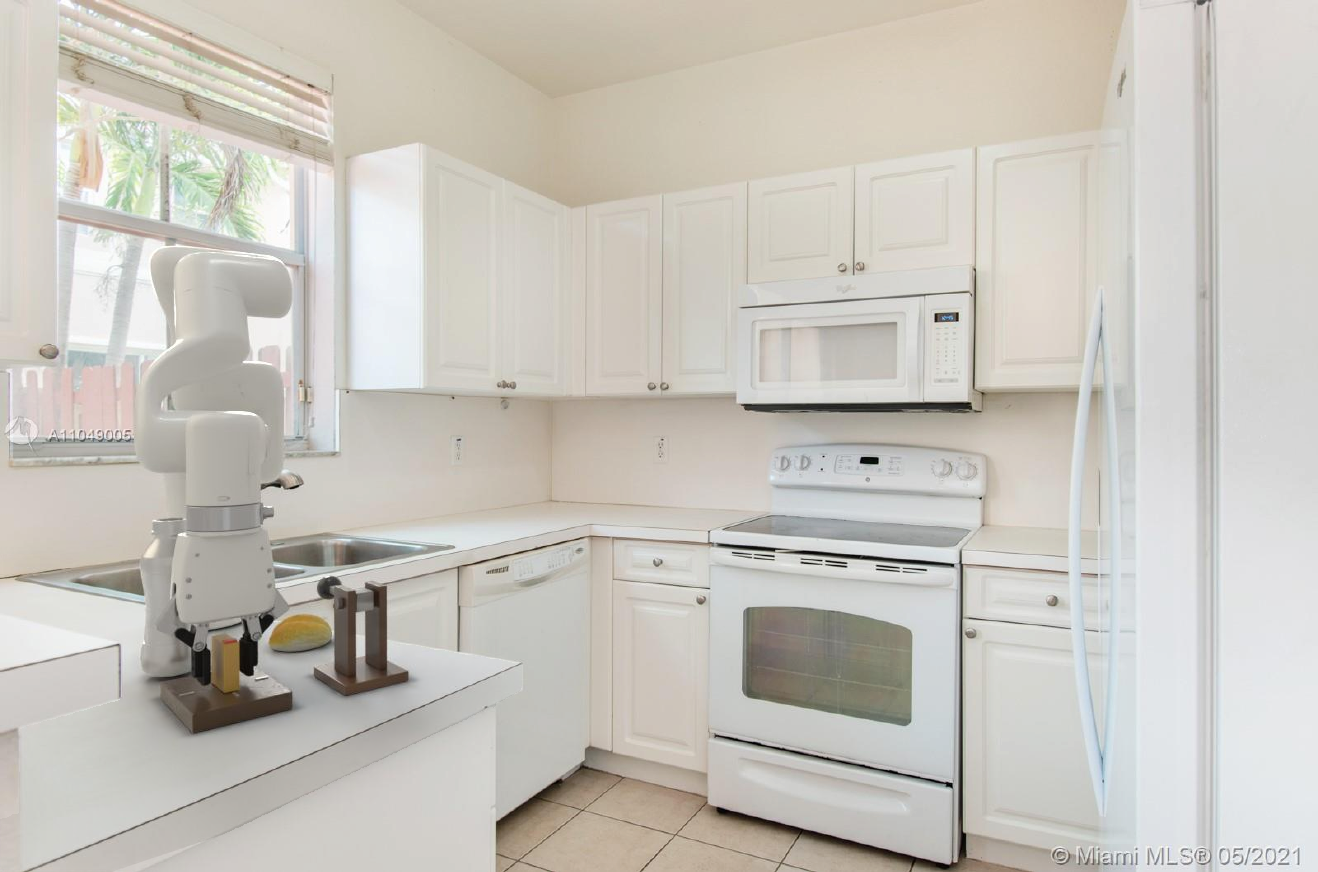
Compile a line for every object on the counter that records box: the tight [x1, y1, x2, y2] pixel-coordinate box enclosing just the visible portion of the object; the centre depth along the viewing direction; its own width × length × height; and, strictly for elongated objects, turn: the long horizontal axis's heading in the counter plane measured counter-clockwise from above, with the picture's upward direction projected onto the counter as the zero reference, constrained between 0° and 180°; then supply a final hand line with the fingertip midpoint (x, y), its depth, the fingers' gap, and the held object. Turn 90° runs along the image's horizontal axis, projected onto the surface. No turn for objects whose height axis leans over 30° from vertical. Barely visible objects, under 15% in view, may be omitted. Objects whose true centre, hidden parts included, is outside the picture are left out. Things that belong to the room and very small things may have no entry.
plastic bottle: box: [139, 517, 191, 678], centre depth 99 cm, size 6×7×20 cm
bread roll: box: [268, 613, 333, 653], centre depth 113 cm, size 8×9×4 cm
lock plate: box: [160, 666, 293, 734], centre depth 89 cm, size 14×10×2 cm
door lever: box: [316, 575, 374, 613], centre depth 102 cm, size 13×3×3 cm, turn 44°
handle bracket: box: [313, 580, 410, 696], centre depth 98 cm, size 10×8×12 cm
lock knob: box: [210, 632, 240, 693], centre depth 89 cm, size 5×2×6 cm, turn 44°
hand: (225, 676), depth 89 cm, fingers open, 3 cm apart
